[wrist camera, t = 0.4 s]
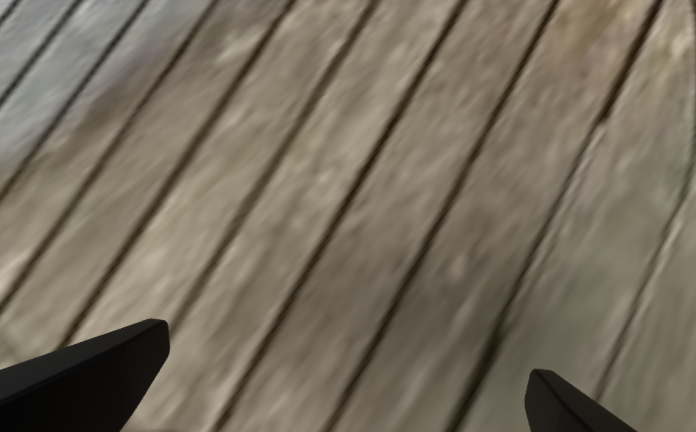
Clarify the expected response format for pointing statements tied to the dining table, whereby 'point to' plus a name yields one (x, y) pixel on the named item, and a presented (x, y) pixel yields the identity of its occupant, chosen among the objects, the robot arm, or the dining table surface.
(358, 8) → the dining table surface
